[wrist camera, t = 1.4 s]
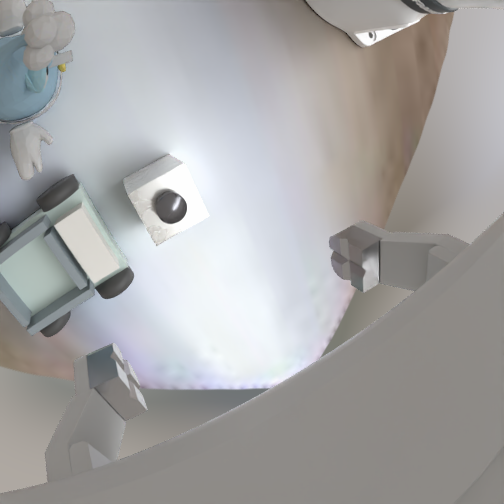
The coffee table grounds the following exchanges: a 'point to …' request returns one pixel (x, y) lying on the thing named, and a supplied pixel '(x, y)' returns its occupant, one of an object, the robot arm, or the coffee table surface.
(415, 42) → the coffee table surface
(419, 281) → the robot arm
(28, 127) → the toy figure
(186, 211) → the cube with round knob
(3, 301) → the chassis
